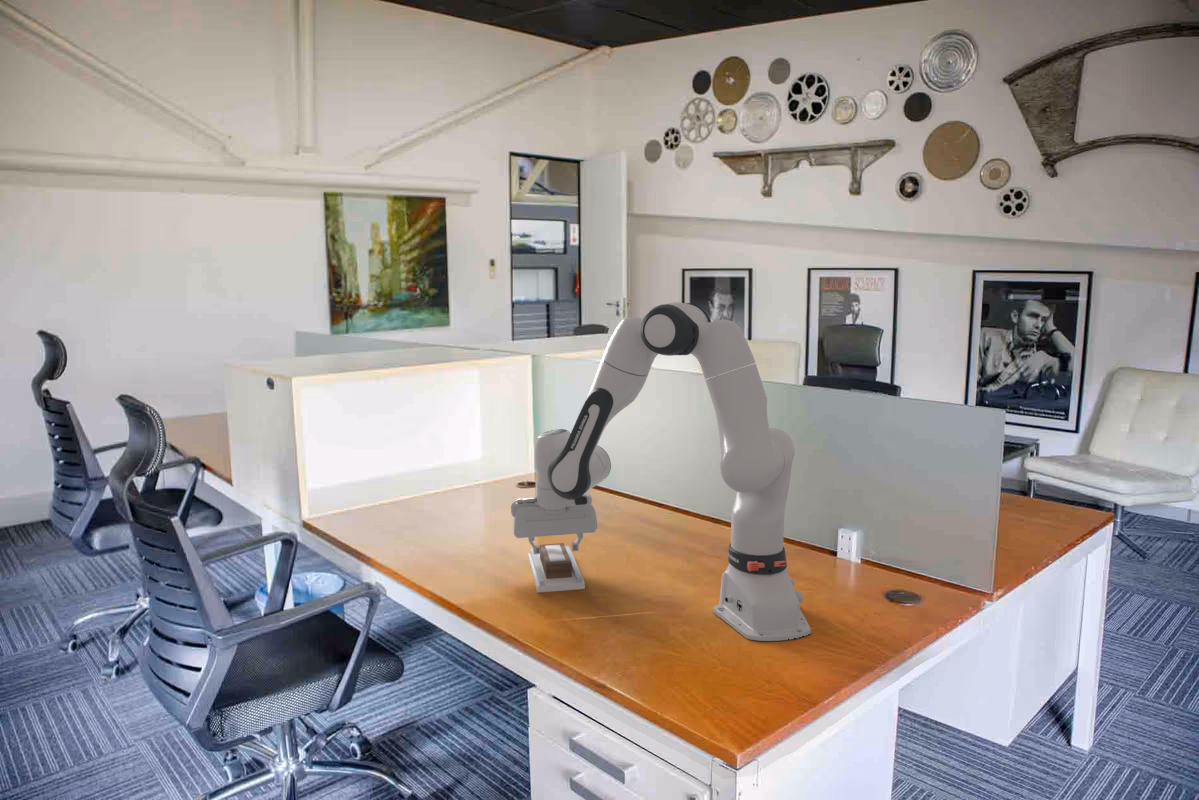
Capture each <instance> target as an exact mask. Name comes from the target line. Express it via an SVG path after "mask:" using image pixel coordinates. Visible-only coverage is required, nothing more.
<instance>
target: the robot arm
mask: <svg viewBox="0 0 1199 800" xmlns="http://www.w3.org/2000/svg"><path fill="white" fill-rule="evenodd" d="M658 355H661V356H668V357H669V356H671V357H672V356H688V355H689V356H690V355H692V356H694V358H695V359H696V360H697V362H698V363H699V365H700V367H701V372H702V374H703V376H704V380H705V383H706V387H707V389H708V392H709V396H710V399H711V402H712V406H713V408H714V412H715V417H716V420H717V427H718V428H717V429H718V435H719V437H718V438H719V442H720V445H719V446H720V452H721V453H720V454H721V459H720V466H719V467H720V468H719V470H720V475H721V477H722V480H723V482H724V483H725V484H726V486H728V488H730V489H732V490H734V491H735V492H736V495H735V499H734V501H733V502H734V503H733V505H732V508H731V511H730V512H731V515H730V516H731V517H730V518H731V519H730V526H731V527H730V543H729V544H728V550H727V555H728V556H727V557H728V558H727V560H728V566H727V568H726V569H725V570H724V572H722V575H721V581H720V582H721V583H720V592H719V594H720V595H719V603H718V604H716V605H714V606H713V610H712V612H713V613H714V614H715V615H716V616H717V617H719V618H720V619H722V620H723V621H724V622H725V623H727V624H728V625H729V626H730V627H731V628H733V629H734V630H735V631H737V632H738V633H739V634H740V635H742V636H743V637H744V638H745V639H747V640H751V641H759V642H760V641H761V642H778V641H789V640H794V638H796V639H800V638H799V637H801V638H803V637H802V636H804V637H806V635H807V636H808V634H809V635H810V634H812V629H811V627H810V623H808V621H807V619H806V617H805V615H804V613H803V611H802V610H801V608H800V603H803V600H804V596H803V592H802V591H801V590H800V591H799V590H798V591H797V590H795V588H794V586H795V579H792V578H791V576H790V574H789V571H788V562H787V554H786V549H785V546H784V529H785V513H786V512H785V511H786V503H787V499H788V494H789V489H790V488H789V487H790V482H791V476H792V475H791V473H792V467H793V466H792V465H793V462H794V456H795V451H796V449H795V444H794V441H793V440H792V438H791V436H790V435H789V434H788V433H786V432H785V431H784V430H782V429H780V428H776V427H769V418H768V408H767V407H768V406H767V405H768V397H767V394H766V390H765V388H764V385H763V382H762V379H761V376H760V373H759V369H758V367H757V364H756V360H755V358H754V354H753V352H752V350H751V348H750V345H749V343H748V341H747V339H746V337H745V336H744V333H743V331H742V330H741V328H740V327H739V325H738V324H737V323H736V322H734V321H732V320H730V319H729V320H728V319H717V320H713V321H712V319H711V316H710V315H709V313H708V312H707V311H706V310H705V309H704V308H702V306H699V305H698V304H694V303H691V302H685V303H684V302H678V301H676V302H670V303H666V304H665V303H664V304H659V305H656V306H654V307H653V308H652V309H651V308H650V310H649V311H648V312H646V314H645V315H644V317H643V318H642V317H637V316H631V317H625V318H623V319H622V320H621V321H620V322H619V323H618V325H617V326H616V328H615V329H614V331H613V333H612V334H611V336H610V337H609V340H608V342H607V345H606V346H605V348H604V351H603V354H602V356H601V359H600V362H599V365H598V367H597V371H596V373H595V375H594V378H593V381H592V384H591V386H590V388H589V392H588V393H587V397H586V399H585V401H584V404H583V405H582V406H581V409H580V411H579V413H578V416H577V418H576V420H575V423H574V426H573V428H572V429H571V432H570V430H568V429H565V428H559V429H552V430H551V429H550V430H547V431H544V432H543V433H541V434H539V435H538V436H537V437H536V441H535V449H534V468H535V471H536V479H535V497H529V498H517V499H516V500H515V501H513V502H512V504H511V505H510V506H511V507H510V512H511V513H510V514H511V515H512V517H513V521H512V533H513V535H514V537H515V538H517V539H522V538H523V539H525V538H527V540H528V542H529V544H530V545H531V546H532V547H531V548H533V554H540V544H535V542H534V541H536V539H535V538H537V537H552V536H564V535H575V536H576V539H575V541H571V552H579V551H580V548H579V547H580V543H581V542H582V540H583V538H584V535H583V534H590V533H595V532H596V531H597V529H598V518H597V513H596V509H595V507H594V505H593V503H592V502H593V497H592V495H591V493H590V492H589V491H590V490H591V489H593V488H594V487H596V486H597V485H599V484H601V482H603V481H604V480H606V479H607V478H608V477H609V475H610V473H611V469H612V462H611V458H610V455H609V454H608V452H607V451H606V450H605V449H604V448H603V447H602V446H600V445H598V443H599V441H600V439H601V437H602V434H603V432H604V431H605V429H606V427H607V426H608V424H609V423H610V422H611V421H612V419H613V418H615V416H616V415H618V414H619V413H620V412H621V411H622V410H624V409H625V408H627V407H628V406H629V405H630V404H632V403H633V402H634V401H635V400H636V399H637V397H638V396H639V394H640V392H641V391H642V389H643V387H644V385H645V384H646V381H647V378H648V376H649V373H650V370H651V368H652V365H653V362H654V360H655V359H656V358H657V356H658ZM788 639H789V640H788Z"/></svg>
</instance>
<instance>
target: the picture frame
mask: <svg viewBox="0 0 1199 800" xmlns="http://www.w3.org/2000/svg"><path fill="white" fill-rule="evenodd" d="M565 546H566V545H565V543H564V542H561V543H547V544H539V547H540V550H539V551H540V560H541V563H542V566H543V569H544V573H545V576H546V579H554V578H567V577H572V562H571V560H570V557H569V555H568V553H567V550H566V548H565Z"/></svg>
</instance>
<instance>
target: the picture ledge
mask: <svg viewBox="0 0 1199 800" xmlns="http://www.w3.org/2000/svg"><path fill="white" fill-rule="evenodd" d="M565 548H566V550H567V553H568V555H569V557H570V560H571V562H572V577H567V578H554V579H546V576H545V573H544V569H543V566H542V563H541V560H540V554H533V547H531V548H530V549H529V552H528V553H527V559H528V563H529V567H530V570H531V574H532V579H533V582H534V584H535V589H536V593H537V594H538V593H539V594H540V593H550V592H562V591H563V592H564V591H574V590H575V591H577V590H585V589H586V582H585V580H584V577H583V575H582V573H581V570H580V568H579V567H578V563H577V562H576V559H575V556H574V553H572V552H573V551H572V549H571V548H570V546H569V545H565Z"/></svg>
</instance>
